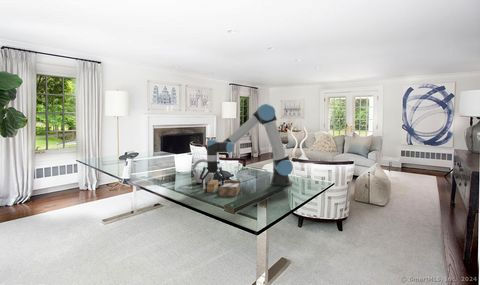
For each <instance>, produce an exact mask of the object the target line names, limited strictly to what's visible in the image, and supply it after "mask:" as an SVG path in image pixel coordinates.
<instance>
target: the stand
mask: <svg viewBox="0 0 480 285" xmlns="http://www.w3.org/2000/svg"><path fill="white" fill-rule="evenodd" d="M240 191H241V180H239V179H238V180H237V179H236V180H235V179H234V180H233V179H226V180H224V184H223V185H222V186H221V185H220V186H219V185H218V193H219V194H218V196H228V197H229V196H233V197H234V196H237V195H238V194H239V192H240Z"/></svg>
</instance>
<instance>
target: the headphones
mask: <svg viewBox="0 0 480 285" xmlns="http://www.w3.org/2000/svg"><path fill="white" fill-rule="evenodd" d="M207 161H208V160H207V158H206V159H205V158H202V159H198V160H197V161H196V162H194V164H193V166H192V173H193V176H194V180H195V182H196V183H198V184H202V180H201V179H199V178H200V176H201V173H202V171H200V170H198V171H196V172H195V169H196V167H197V165H199V164H200V163H206V164H207ZM214 176H215V173H208V175H207V176H206V177H205V178H204V180H205V184H208V183H209V182H210V181H211V180H214ZM203 177H204V175H203V176H202V178H203Z"/></svg>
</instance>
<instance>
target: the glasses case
mask: <svg viewBox="0 0 480 285" xmlns="http://www.w3.org/2000/svg"><path fill="white" fill-rule="evenodd" d="M217 189H219V179H213V180H211V181H210V182H209V183H206V192H207V193H215V191H217Z"/></svg>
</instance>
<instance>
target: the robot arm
mask: <svg viewBox="0 0 480 285" xmlns="http://www.w3.org/2000/svg"><path fill="white" fill-rule="evenodd" d="M277 120H278V118H277V116H276V110H275V108H274V106H273V105H272V104H270V103H264V104H261V105H260V106H259V107H258V108H257V109H256V110H255V112H253V113H252V115H251V117H250V118H249V119H248V120H246V122H244V123H243V124H241V125H240V126H239V127H238V128H237V129H236V130H235V131H234V132H233V133H231V134H230V135H229V136H228V137H227V138H226V139H224V140H223V141H222V142H220V141H218V139H207V141H206V160H208V161H207V163H206V164H207V165H206V166H204V167H203V168H202V171H201V172H202V173H201V176H200V178H199V179H201V180H202V183H201V185H202V188H203V190H205V189H206V183H205V180H204V178H205V177H206V176H207V175H208V173H212V174H213V173H214V174H215V175H217V177H218V178H219V179H220V186H223V184H224V183H225V181H224V180H227V177H226V174H224V171H223V167H222V166H220V167H219V166H218V153H234V146H235V145H236V144H237V143H238V142H239V141H241V140H242V138H244V137H245V136H246V135H247V134H249V132H251V131H252V130H253V129H254V128H256V127H257V126H258V125H260V124H261V125H262V126H264V128H265V132H266V135H267V138H268V142H269V144H270V148H271V151H272V154H273V157H272V171H273V172H272V173H273V174H272V176H271V180H270V184H271V186H272V185H273V186H276V187H288V186H289V185H291V181H290V177H289V175H290V174H291V173H292V172H293V170H294V166H293V163H292V162H291V159H290V156H289V154H287V153H286V150H285V148H284V144H283V142H282V139H281V135H280V132H279V130H278V126H277ZM218 170H219V171H218ZM205 171H207V172H206V173H205ZM202 176H204V177H203V178H202Z"/></svg>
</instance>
